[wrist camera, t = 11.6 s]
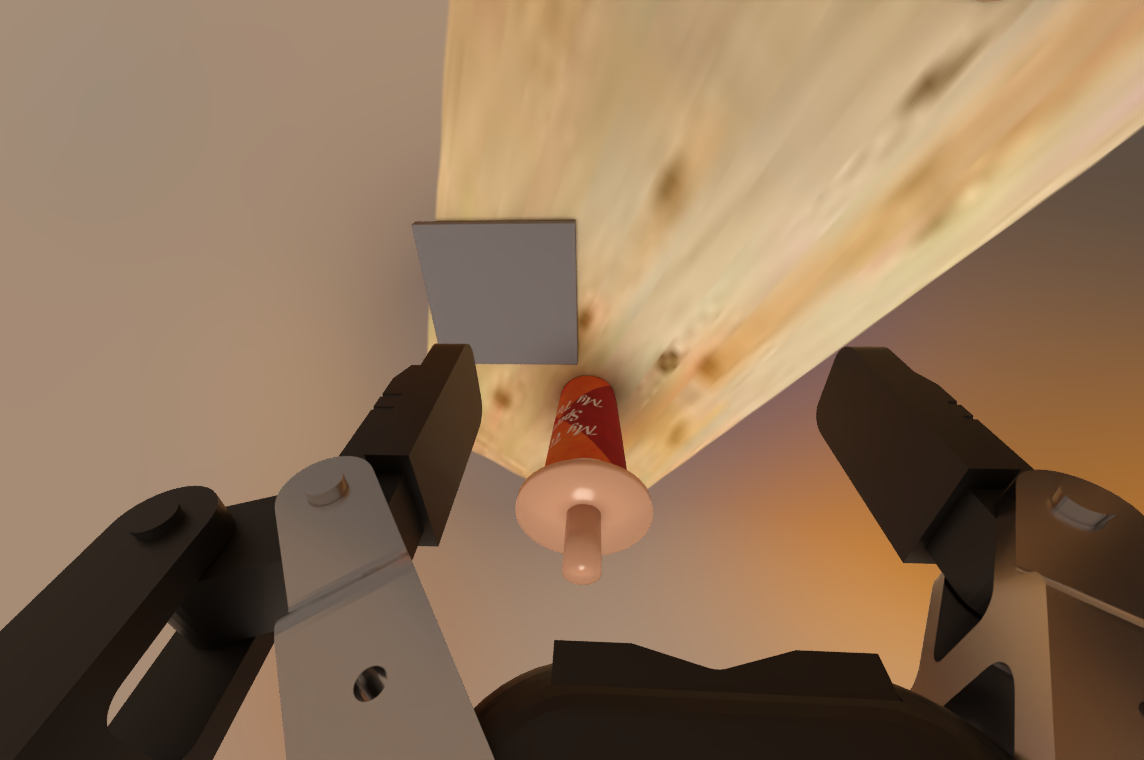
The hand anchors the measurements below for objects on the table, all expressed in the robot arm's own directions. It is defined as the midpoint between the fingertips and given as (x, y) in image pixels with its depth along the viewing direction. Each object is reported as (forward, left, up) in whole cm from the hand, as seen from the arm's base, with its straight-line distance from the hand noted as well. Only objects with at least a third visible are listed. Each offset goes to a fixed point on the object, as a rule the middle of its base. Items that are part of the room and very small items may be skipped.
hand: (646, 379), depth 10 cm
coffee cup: (+2, +23, -30) cm, 38 cm away
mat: (+10, +11, -30) cm, 34 cm away
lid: (+2, +23, -15) cm, 28 cm away
